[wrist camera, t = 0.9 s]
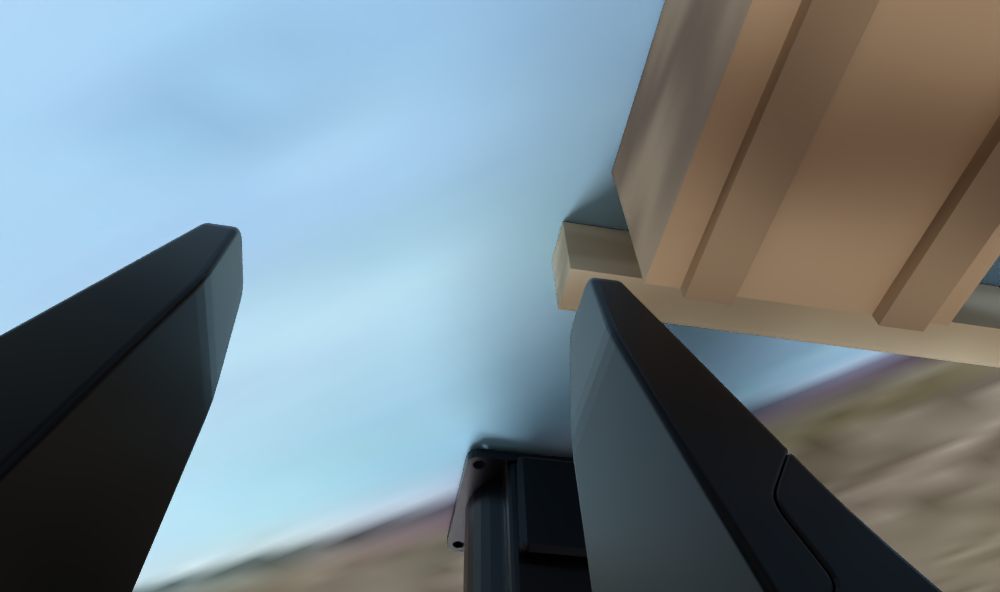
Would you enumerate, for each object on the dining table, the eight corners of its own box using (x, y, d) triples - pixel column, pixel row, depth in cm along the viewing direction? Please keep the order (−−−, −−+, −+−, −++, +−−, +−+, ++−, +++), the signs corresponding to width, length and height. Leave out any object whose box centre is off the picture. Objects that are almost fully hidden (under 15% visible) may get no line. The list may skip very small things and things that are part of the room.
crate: (860, 211, 23) (956, 336, 18) (611, 171, 22) (646, 293, 17) (1015, -65, 18) (1199, 9, 13) (706, -132, 17) (791, -77, 12)
